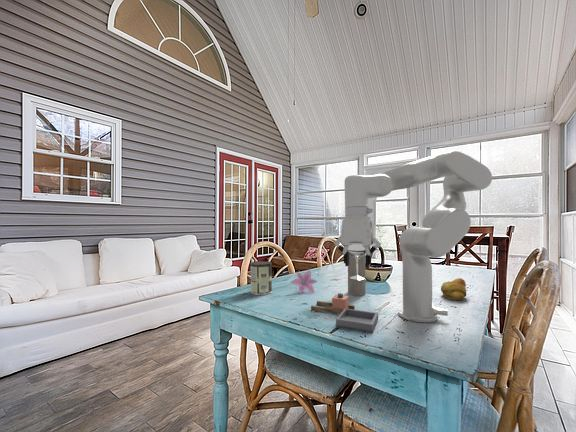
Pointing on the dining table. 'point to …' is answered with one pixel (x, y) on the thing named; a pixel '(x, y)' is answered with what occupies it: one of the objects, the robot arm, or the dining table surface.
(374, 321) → the tray
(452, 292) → the bread roll
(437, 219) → the robot arm
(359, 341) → the dining table surface
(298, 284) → the lily
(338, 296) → the piston block
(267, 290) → the coffee can
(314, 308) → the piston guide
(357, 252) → the wineglass
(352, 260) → the thermos bottle
